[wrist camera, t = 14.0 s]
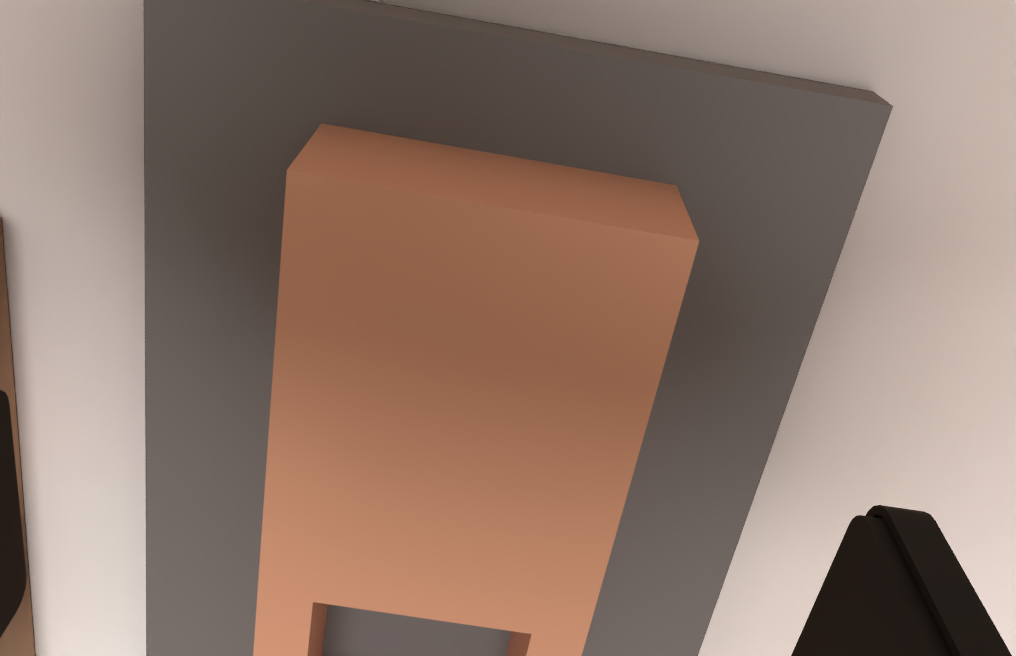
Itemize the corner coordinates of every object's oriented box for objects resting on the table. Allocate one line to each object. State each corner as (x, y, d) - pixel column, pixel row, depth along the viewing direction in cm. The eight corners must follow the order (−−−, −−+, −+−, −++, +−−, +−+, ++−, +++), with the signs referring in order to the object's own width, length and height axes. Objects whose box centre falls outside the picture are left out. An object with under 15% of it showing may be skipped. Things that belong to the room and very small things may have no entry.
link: (321, 123, 16) (286, 169, 14) (676, 185, 16) (699, 241, 14) (257, 873, 25) (230, 975, 23) (486, 903, 25) (481, 1007, 23)
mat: (165, -36, 16) (143, -28, 15) (873, 91, 16) (892, 106, 15) (160, 873, 27) (147, 909, 26) (586, 927, 27) (587, 964, 26)
